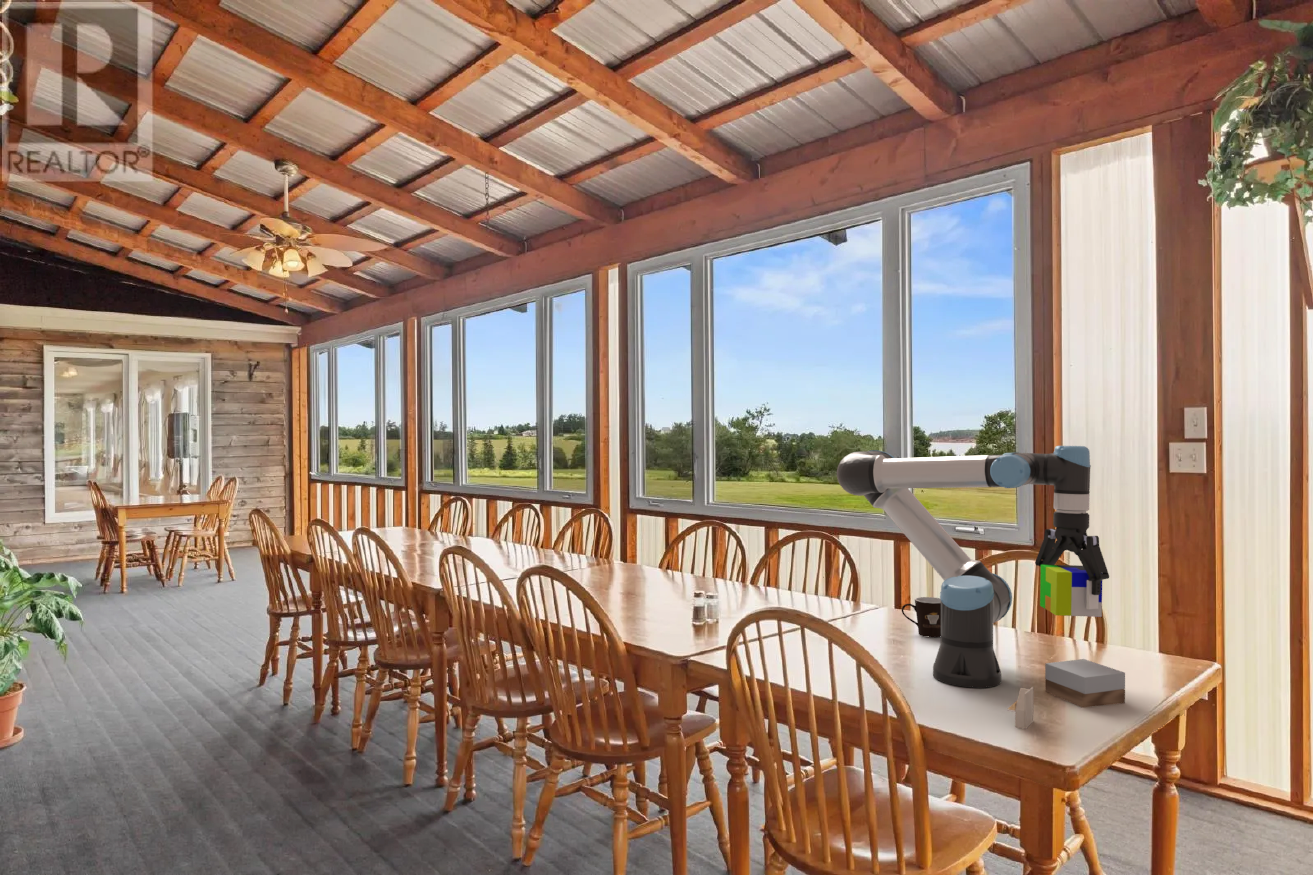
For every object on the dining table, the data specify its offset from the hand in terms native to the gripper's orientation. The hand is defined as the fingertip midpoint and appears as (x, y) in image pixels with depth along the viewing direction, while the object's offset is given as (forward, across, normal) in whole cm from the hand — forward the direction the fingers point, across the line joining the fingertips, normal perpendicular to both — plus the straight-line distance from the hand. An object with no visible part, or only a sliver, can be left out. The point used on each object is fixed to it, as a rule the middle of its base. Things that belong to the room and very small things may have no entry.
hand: (1069, 602), depth 191 cm
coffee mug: (+19, +47, +5) cm, 51 cm away
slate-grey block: (+15, -11, +6) cm, 20 cm away
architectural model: (+19, -20, +31) cm, 42 cm away
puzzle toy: (+2, 0, 0) cm, 2 cm away
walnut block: (+19, -11, +6) cm, 23 cm away
